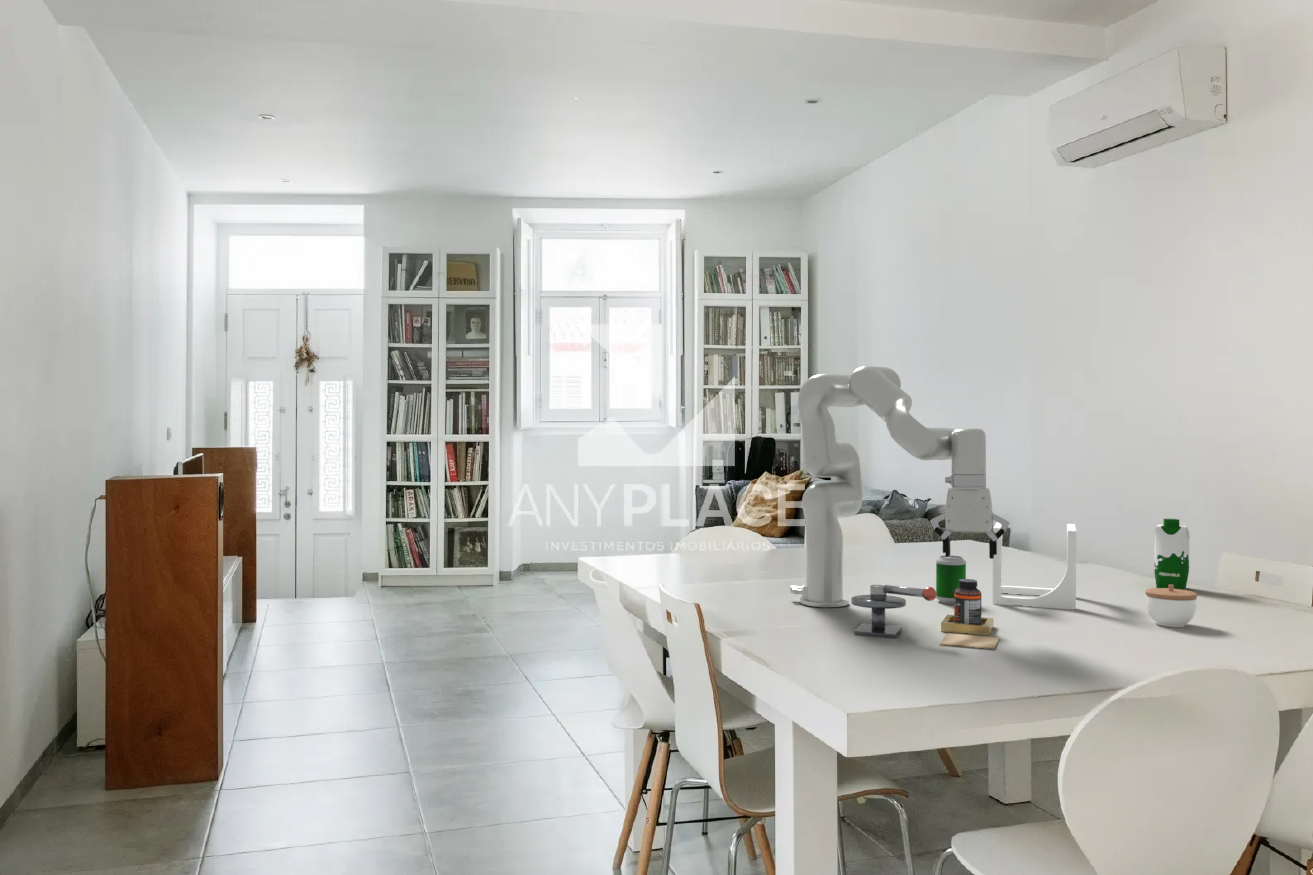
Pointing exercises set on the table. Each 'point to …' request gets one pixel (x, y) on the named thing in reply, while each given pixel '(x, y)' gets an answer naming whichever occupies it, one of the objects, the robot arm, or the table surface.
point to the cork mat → (970, 641)
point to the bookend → (1050, 597)
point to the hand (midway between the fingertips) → (969, 557)
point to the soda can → (949, 577)
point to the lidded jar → (1171, 606)
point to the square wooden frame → (967, 626)
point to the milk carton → (1171, 554)
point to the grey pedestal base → (878, 626)
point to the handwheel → (884, 601)
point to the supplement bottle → (967, 603)
